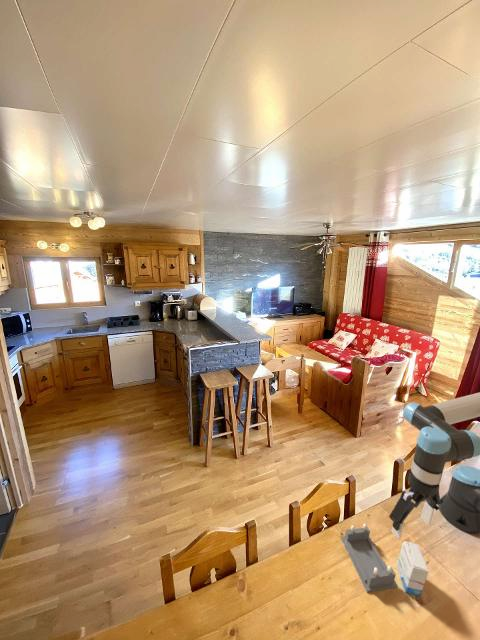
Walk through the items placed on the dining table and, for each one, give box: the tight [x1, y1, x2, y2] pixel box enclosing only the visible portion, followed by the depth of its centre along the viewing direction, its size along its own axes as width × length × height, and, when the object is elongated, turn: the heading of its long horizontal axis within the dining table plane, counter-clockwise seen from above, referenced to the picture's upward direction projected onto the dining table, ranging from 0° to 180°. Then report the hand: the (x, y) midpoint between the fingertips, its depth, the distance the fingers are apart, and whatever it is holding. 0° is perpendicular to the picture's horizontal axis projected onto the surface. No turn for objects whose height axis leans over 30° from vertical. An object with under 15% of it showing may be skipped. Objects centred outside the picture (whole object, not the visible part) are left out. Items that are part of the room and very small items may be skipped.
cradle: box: [340, 523, 398, 593], centre depth 95 cm, size 11×17×8 cm, turn 8°
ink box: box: [396, 540, 429, 597], centre depth 90 cm, size 9×5×12 cm, turn 168°
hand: (410, 528), depth 86 cm, fingers open, 13 cm apart
